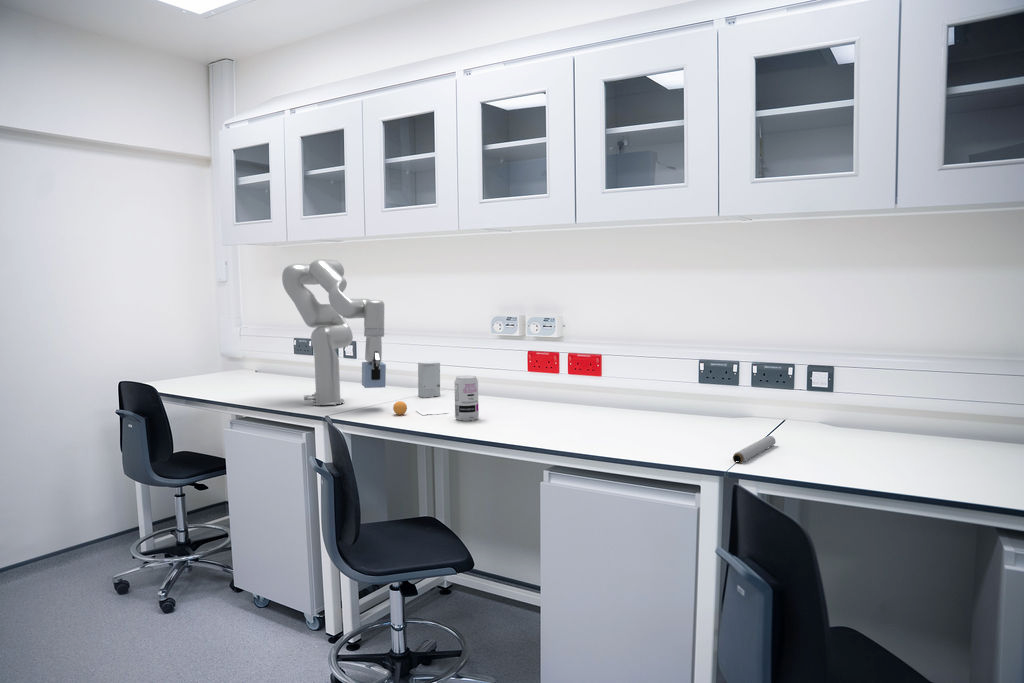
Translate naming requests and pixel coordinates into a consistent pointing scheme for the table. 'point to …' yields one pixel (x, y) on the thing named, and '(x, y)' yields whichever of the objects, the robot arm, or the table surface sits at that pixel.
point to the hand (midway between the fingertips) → (373, 377)
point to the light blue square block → (366, 376)
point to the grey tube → (753, 449)
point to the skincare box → (428, 379)
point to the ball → (400, 407)
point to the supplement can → (466, 398)
